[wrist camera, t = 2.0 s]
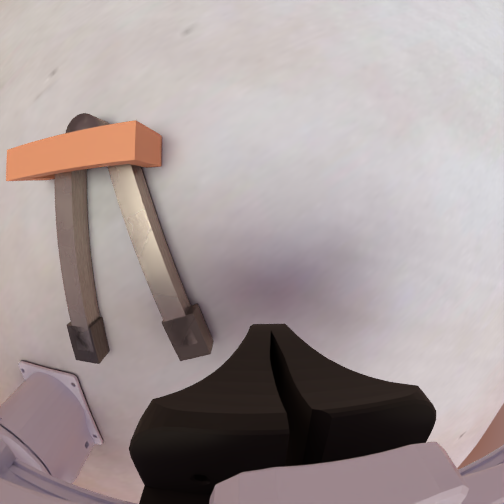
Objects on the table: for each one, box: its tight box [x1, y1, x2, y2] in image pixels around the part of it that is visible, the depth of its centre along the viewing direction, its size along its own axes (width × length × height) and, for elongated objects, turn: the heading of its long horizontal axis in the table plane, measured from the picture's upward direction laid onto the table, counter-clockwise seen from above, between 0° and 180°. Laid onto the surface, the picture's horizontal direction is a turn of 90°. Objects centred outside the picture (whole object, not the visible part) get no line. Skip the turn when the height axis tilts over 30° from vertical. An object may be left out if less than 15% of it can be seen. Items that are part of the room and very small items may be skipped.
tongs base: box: [55, 113, 110, 364], centre depth 17 cm, size 17×4×3 cm, turn 0°
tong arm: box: [108, 164, 213, 361], centre depth 17 cm, size 14×2×2 cm, turn 18°
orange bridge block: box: [6, 121, 162, 181], centre depth 15 cm, size 2×10×4 cm, turn 90°
